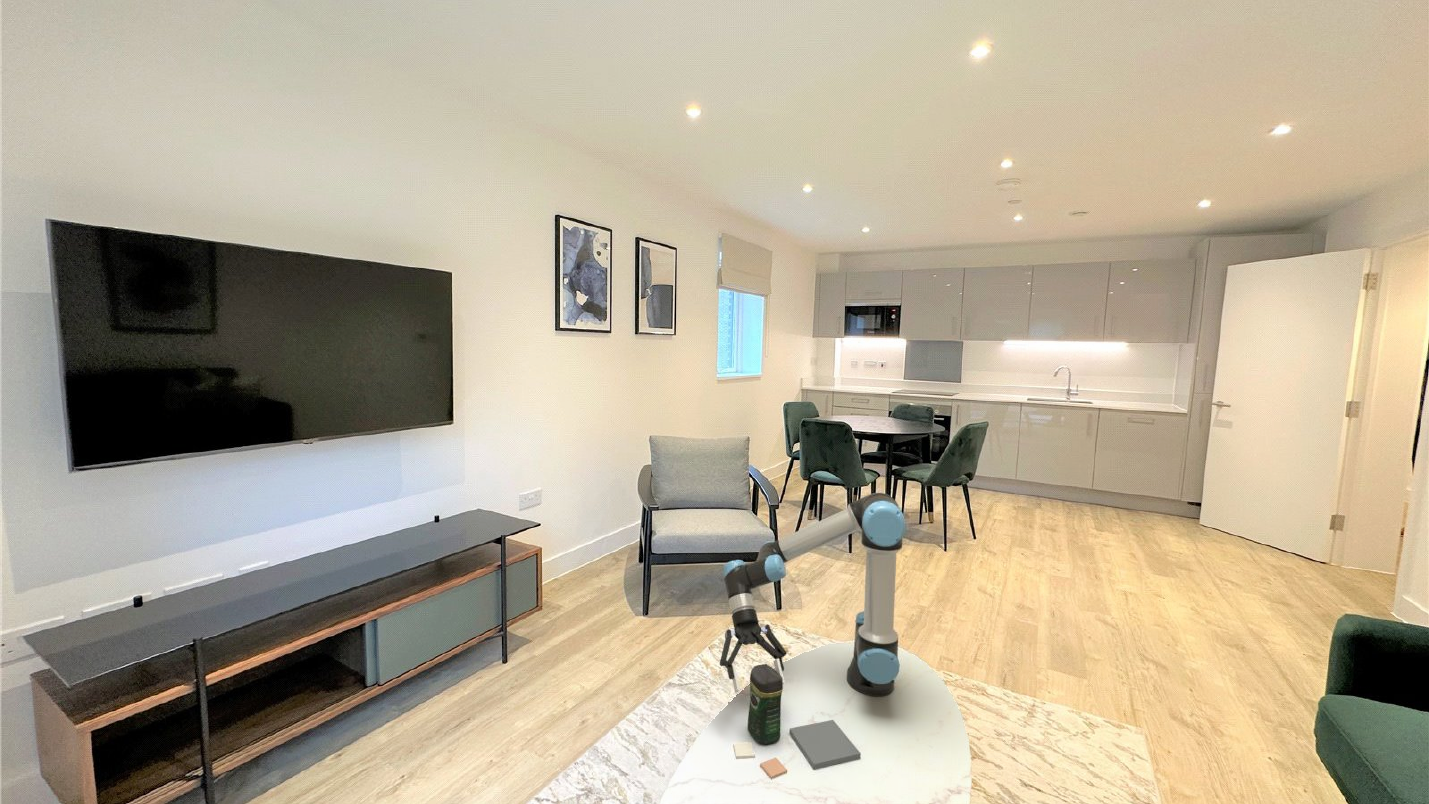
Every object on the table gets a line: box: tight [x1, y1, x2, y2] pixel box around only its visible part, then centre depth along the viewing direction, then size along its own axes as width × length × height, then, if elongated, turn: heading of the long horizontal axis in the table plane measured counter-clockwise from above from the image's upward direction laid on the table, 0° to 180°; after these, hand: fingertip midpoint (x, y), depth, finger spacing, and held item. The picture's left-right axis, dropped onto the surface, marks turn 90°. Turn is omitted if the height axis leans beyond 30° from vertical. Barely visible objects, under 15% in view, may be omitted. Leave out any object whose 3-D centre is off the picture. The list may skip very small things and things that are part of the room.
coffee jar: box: [747, 663, 784, 745], centre depth 155 cm, size 10×8×19 cm
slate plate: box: [788, 719, 862, 770], centre depth 151 cm, size 14×14×2 cm
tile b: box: [732, 741, 756, 760], centre depth 148 cm, size 5×5×1 cm
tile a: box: [759, 757, 788, 780], centre depth 142 cm, size 5×5×1 cm
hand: (760, 687), depth 156 cm, fingers open, 13 cm apart
